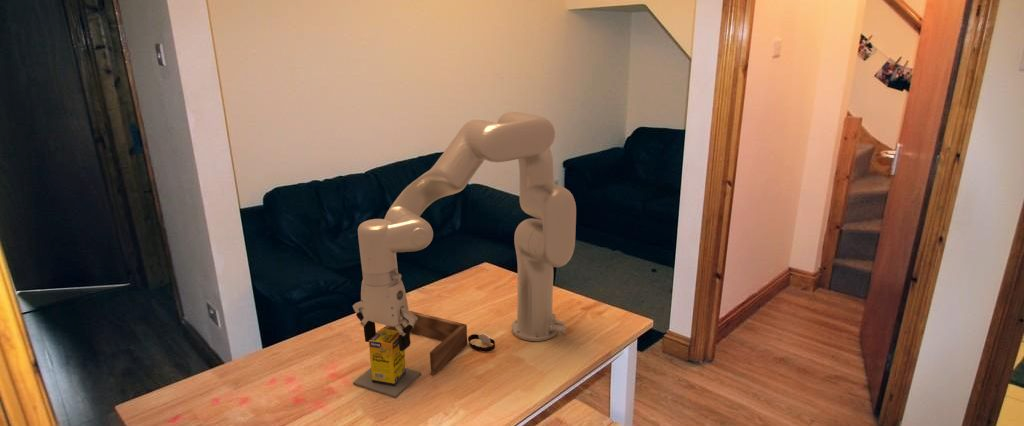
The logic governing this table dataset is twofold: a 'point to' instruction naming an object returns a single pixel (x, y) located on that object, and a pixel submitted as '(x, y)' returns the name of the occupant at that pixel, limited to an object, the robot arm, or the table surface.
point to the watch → (484, 339)
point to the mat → (387, 390)
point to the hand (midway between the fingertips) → (387, 343)
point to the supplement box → (386, 357)
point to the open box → (439, 338)
